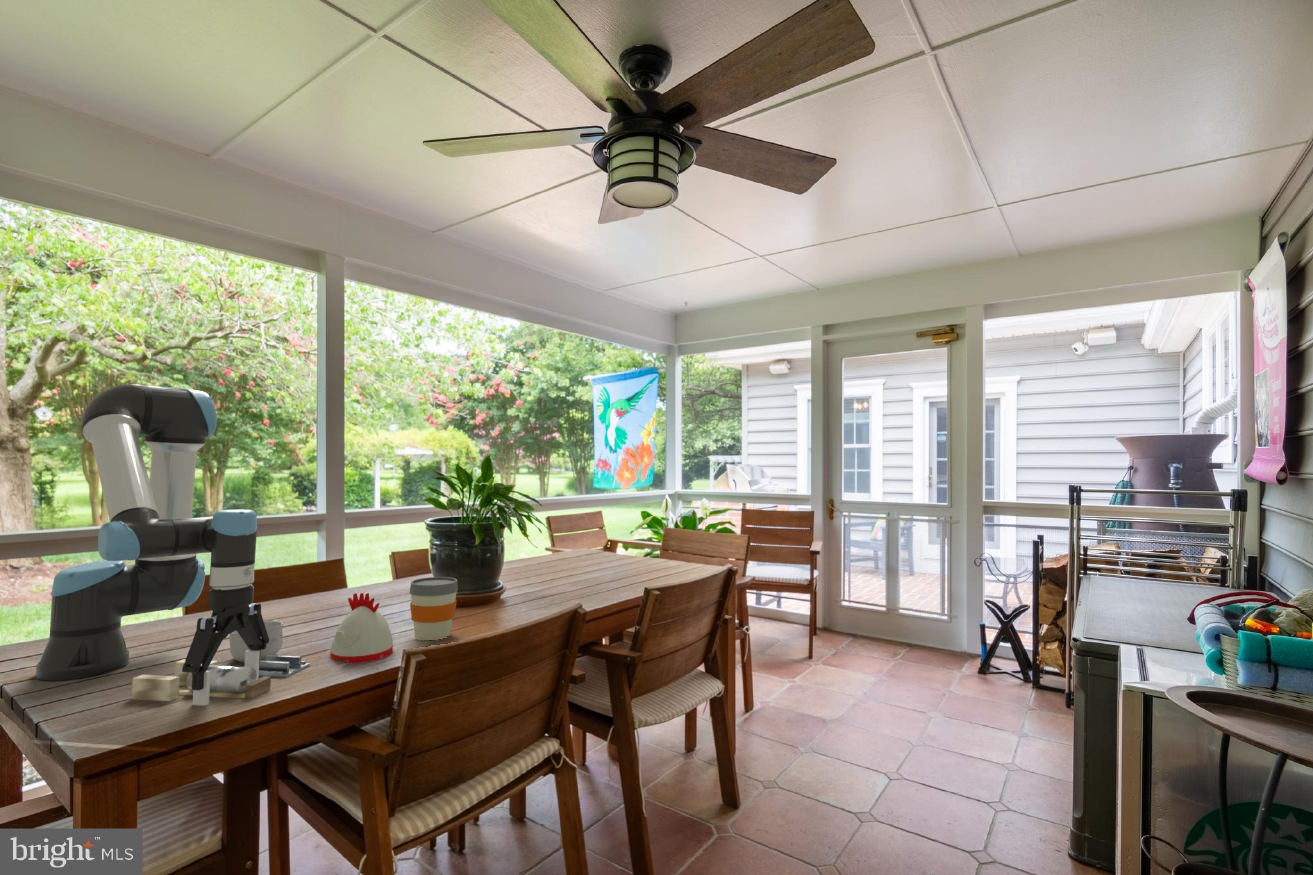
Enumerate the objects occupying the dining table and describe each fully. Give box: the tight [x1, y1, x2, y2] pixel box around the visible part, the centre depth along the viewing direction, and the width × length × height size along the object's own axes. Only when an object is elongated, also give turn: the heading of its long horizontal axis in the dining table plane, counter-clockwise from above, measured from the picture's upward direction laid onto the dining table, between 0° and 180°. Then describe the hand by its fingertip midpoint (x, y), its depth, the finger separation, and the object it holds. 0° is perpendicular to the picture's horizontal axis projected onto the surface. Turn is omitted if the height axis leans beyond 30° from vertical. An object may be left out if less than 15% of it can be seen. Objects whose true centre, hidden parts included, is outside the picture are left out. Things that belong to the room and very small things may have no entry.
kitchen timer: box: [329, 592, 394, 664], centre depth 149 cm, size 14×14×15 cm
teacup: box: [229, 619, 284, 663], centre depth 145 cm, size 14×11×8 cm
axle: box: [186, 664, 257, 693], centre depth 122 cm, size 11×5×5 cm, turn 85°
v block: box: [259, 654, 311, 679], centre depth 135 cm, size 10×8×3 cm
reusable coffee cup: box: [409, 576, 459, 642], centre depth 165 cm, size 13×13×15 cm
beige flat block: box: [131, 658, 272, 702], centre depth 122 cm, size 22×12×4 cm, turn 85°
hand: (227, 693), depth 122 cm, fingers open, 12 cm apart
